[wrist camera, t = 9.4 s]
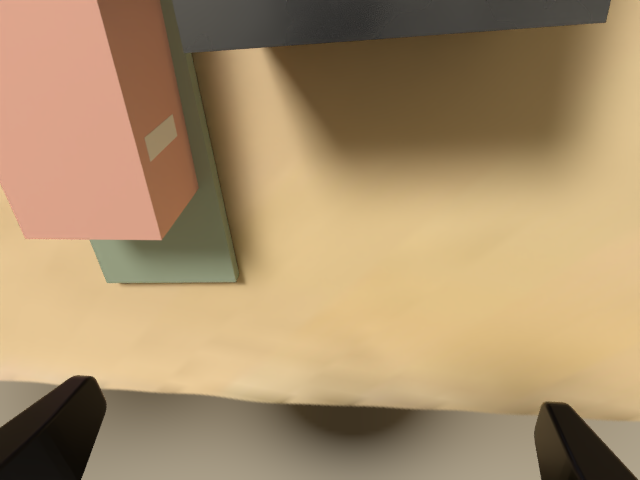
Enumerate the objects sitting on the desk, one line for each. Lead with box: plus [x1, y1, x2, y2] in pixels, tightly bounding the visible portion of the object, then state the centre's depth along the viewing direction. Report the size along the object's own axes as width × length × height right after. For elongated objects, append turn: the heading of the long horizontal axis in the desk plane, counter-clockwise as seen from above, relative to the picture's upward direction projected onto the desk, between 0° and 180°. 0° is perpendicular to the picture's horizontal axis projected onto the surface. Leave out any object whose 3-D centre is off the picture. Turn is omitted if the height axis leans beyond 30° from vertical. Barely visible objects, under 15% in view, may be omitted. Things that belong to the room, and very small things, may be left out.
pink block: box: [0, 0, 199, 240], centre depth 14 cm, size 5×13×4 cm, turn 3°
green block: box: [90, 0, 239, 283], centre depth 19 cm, size 6×14×1 cm, turn 5°
